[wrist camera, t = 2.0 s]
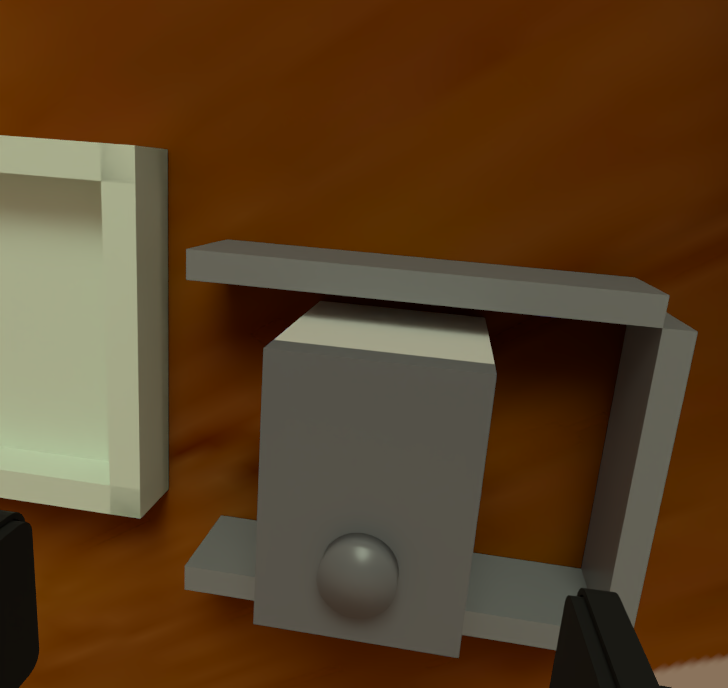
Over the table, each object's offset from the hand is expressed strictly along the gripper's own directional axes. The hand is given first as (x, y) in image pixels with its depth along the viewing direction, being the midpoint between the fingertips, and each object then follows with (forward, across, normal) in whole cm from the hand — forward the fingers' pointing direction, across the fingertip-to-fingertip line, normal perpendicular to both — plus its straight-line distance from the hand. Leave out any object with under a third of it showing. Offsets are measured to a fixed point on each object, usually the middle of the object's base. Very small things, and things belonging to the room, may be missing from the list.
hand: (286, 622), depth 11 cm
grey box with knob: (+10, -1, 0) cm, 10 cm away
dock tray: (+10, +13, -2) cm, 17 cm away
